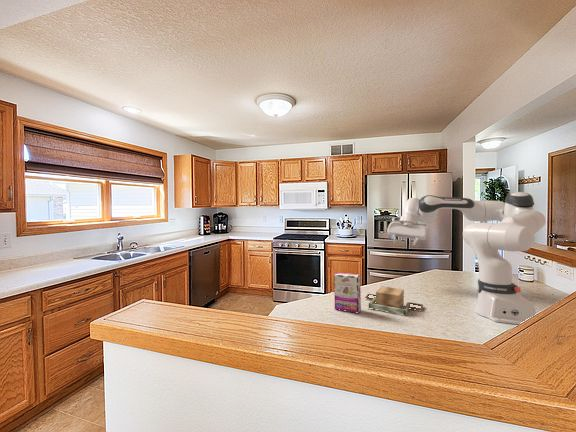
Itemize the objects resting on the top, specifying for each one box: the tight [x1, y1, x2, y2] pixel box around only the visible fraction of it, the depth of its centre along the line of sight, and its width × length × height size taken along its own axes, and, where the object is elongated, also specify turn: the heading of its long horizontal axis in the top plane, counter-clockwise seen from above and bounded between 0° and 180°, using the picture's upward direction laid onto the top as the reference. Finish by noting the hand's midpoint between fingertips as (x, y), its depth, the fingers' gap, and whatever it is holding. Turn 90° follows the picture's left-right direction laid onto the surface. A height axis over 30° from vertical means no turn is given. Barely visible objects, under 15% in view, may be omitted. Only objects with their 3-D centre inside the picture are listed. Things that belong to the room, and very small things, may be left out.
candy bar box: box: [333, 272, 362, 314], centre depth 124 cm, size 11×5×16 cm, turn 62°
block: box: [375, 285, 405, 309], centre depth 126 cm, size 10×10×8 cm
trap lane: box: [364, 293, 424, 316], centre depth 128 cm, size 26×18×2 cm
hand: (404, 243), depth 149 cm, fingers open, 8 cm apart
